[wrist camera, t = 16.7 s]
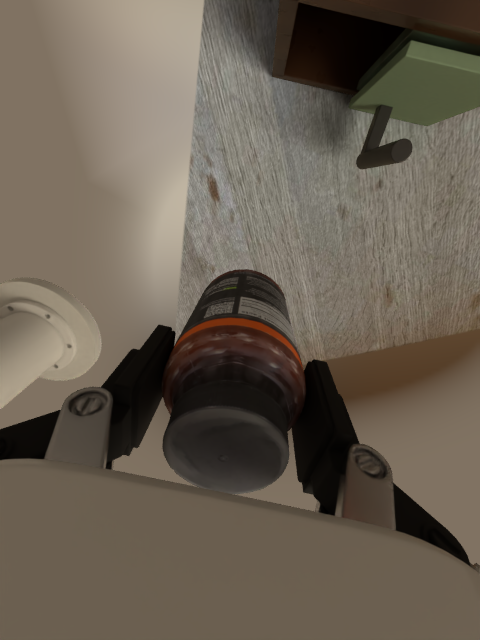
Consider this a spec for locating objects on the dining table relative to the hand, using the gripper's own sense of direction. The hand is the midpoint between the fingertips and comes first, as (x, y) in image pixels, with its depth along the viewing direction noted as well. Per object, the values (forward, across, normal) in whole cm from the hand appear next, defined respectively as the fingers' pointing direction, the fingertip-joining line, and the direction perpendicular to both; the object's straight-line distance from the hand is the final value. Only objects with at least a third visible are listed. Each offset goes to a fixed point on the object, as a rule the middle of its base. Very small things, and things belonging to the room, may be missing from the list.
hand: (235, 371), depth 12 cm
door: (+26, -11, -14) cm, 32 cm away
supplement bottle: (+7, 0, 0) cm, 7 cm away
